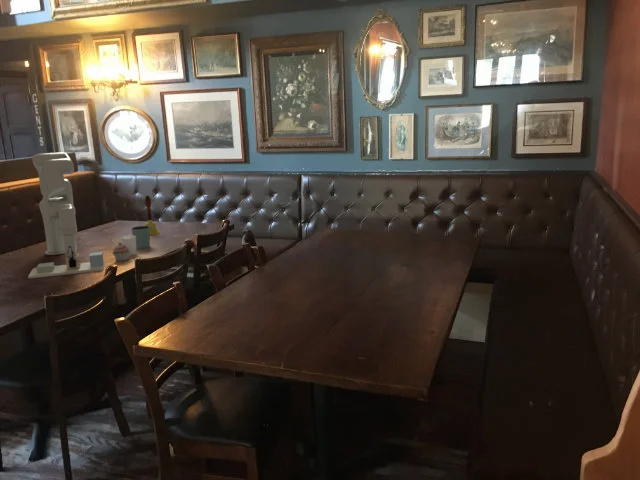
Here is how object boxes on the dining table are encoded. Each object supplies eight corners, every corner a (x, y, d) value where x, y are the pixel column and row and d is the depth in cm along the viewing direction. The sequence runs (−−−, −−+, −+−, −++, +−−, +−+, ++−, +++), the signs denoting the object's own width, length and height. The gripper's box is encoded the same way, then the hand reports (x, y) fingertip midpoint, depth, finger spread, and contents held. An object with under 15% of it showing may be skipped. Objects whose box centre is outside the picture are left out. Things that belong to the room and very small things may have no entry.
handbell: (146, 231, 360) (142, 194, 354) (164, 231, 358) (160, 194, 352) (138, 235, 348) (133, 197, 342) (156, 235, 346) (152, 197, 340)
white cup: (132, 256, 297) (130, 238, 295) (120, 255, 299) (117, 238, 297) (140, 252, 305) (138, 235, 303) (127, 252, 307) (125, 235, 304)
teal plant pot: (130, 248, 314) (127, 228, 312) (141, 244, 323) (139, 225, 321) (143, 249, 311) (141, 229, 308) (155, 245, 320) (153, 226, 317)
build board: (33, 270, 275) (32, 262, 274) (104, 262, 286) (103, 255, 285) (28, 278, 261) (27, 270, 260) (103, 270, 272) (101, 262, 271)
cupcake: (109, 262, 287) (107, 244, 285) (121, 257, 296) (119, 239, 293) (123, 263, 284) (121, 245, 281) (135, 258, 292) (133, 240, 290)
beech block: (68, 265, 276) (66, 254, 275) (80, 264, 278) (79, 253, 276) (66, 269, 271) (65, 257, 269) (79, 267, 272) (78, 256, 271)
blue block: (91, 264, 279) (89, 253, 278) (103, 262, 281) (102, 251, 280) (90, 267, 274) (89, 255, 272) (103, 265, 276) (101, 254, 274)
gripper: (62, 228, 276) (67, 261, 281) (58, 235, 261) (63, 271, 265) (78, 227, 279) (83, 260, 283) (75, 234, 263) (80, 269, 267)
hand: (73, 265), depth 274 cm, fingers closed on beech block, 6 cm apart
